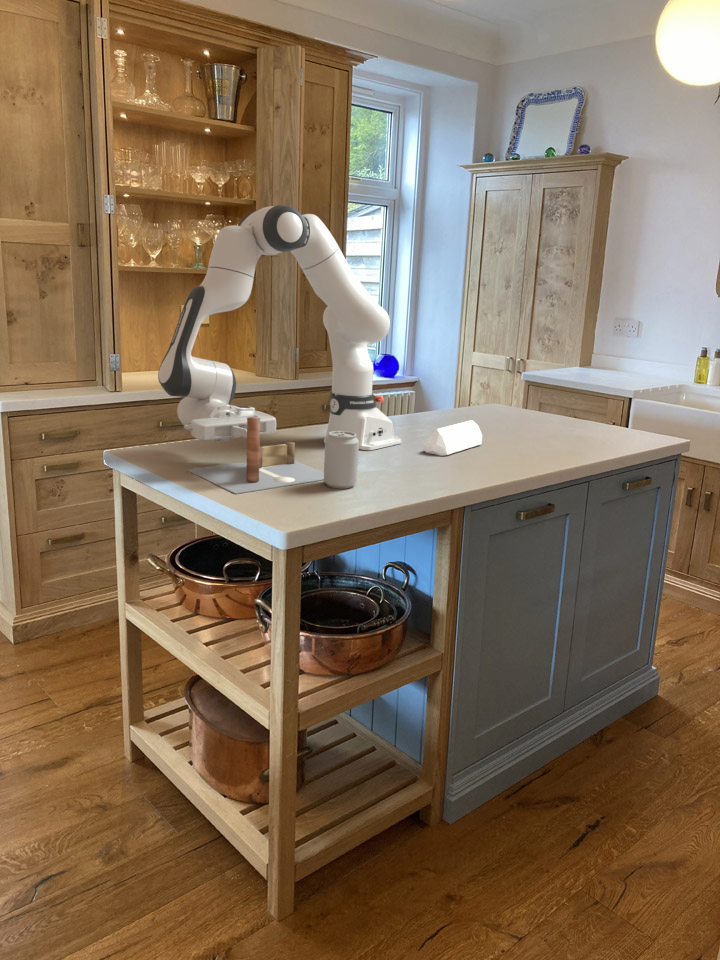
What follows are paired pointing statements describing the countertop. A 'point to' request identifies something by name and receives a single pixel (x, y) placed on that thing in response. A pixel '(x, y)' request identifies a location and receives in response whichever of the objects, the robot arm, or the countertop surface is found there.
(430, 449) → the white chamfered prism
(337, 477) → the can
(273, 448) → the fixed rail
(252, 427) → the rail
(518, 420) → the countertop surface
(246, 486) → the card
